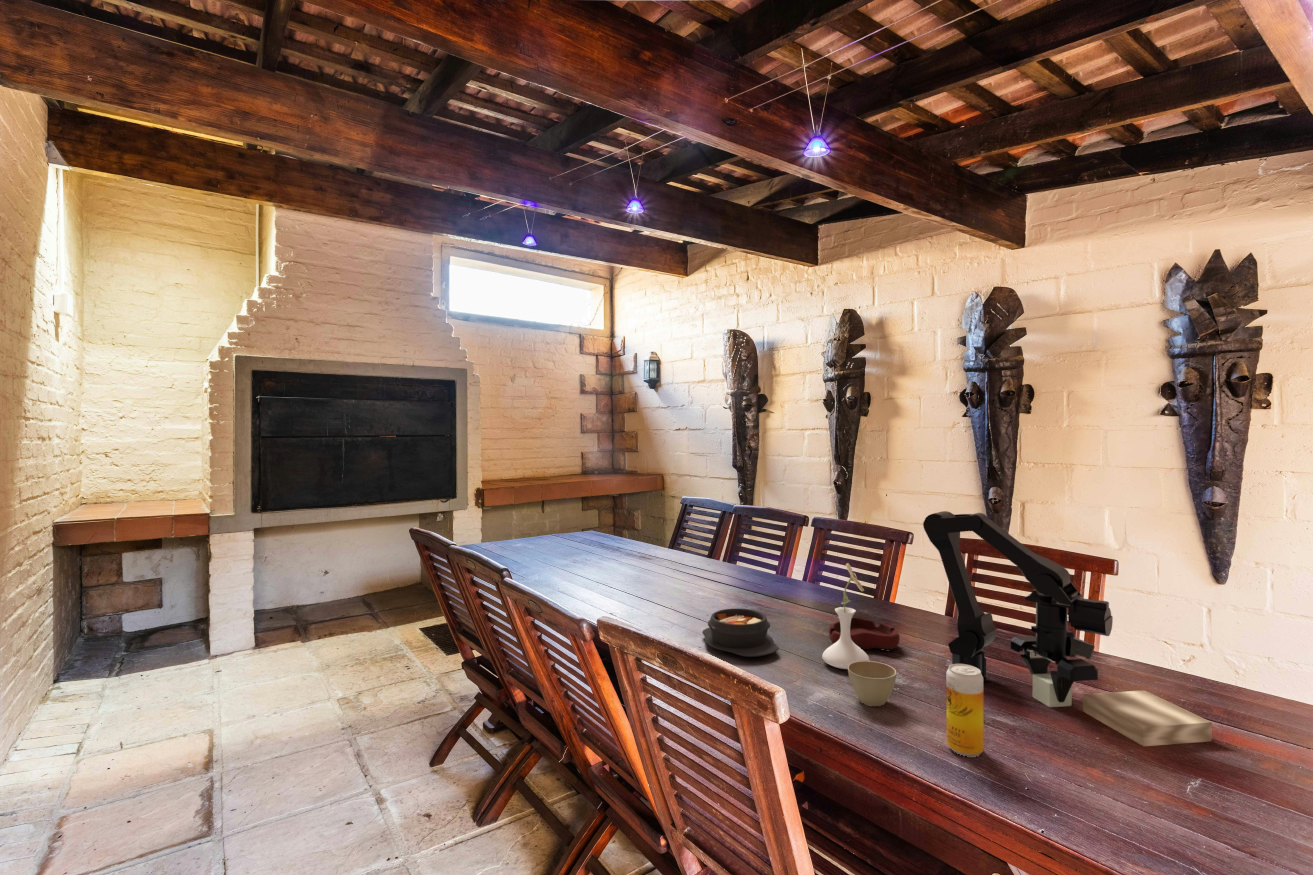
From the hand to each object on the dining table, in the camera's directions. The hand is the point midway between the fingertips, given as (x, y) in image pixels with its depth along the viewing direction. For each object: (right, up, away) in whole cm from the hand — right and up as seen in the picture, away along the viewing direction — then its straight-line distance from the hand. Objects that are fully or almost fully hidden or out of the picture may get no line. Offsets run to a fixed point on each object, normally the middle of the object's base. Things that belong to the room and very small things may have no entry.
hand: (1051, 696), depth 132 cm
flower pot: (-38, -2, +1) cm, 38 cm away
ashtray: (-29, -1, +37) cm, 47 cm away
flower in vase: (-37, -1, +22) cm, 43 cm away
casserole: (-63, -2, +35) cm, 72 cm away
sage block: (0, -1, 0) cm, 1 cm away
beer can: (-28, -2, -19) cm, 34 cm away
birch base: (+11, -2, -11) cm, 16 cm away
